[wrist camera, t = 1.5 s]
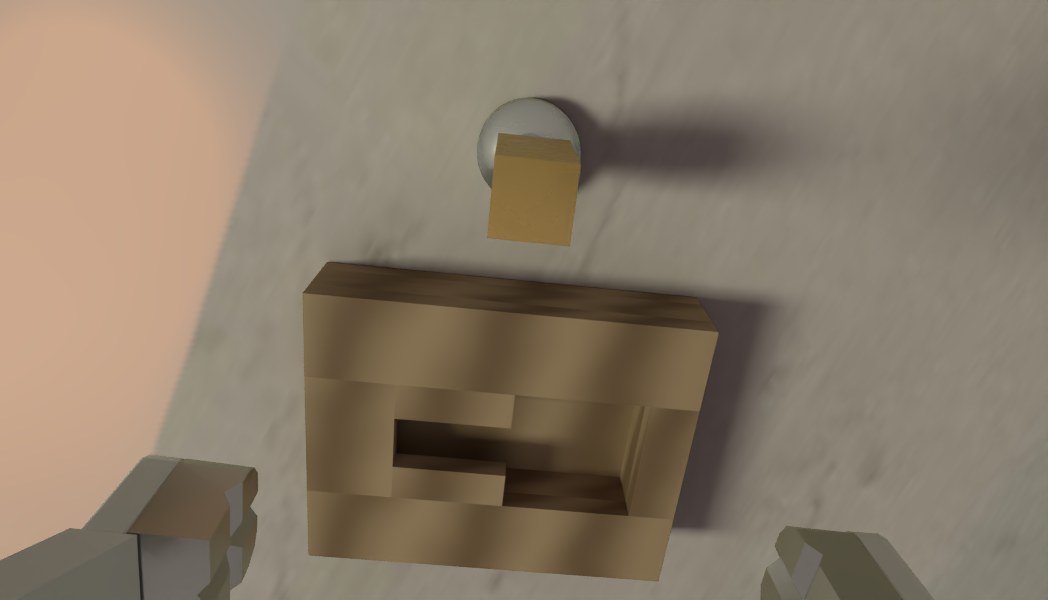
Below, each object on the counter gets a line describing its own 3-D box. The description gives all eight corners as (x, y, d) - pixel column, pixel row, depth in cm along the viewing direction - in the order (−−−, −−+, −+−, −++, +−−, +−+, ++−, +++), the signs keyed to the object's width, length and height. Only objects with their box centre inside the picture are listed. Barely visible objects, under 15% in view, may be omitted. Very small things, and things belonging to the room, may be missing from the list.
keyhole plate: (696, 297, 36) (718, 332, 32) (644, 527, 42) (658, 581, 38) (327, 262, 35) (302, 293, 31) (329, 503, 41) (308, 555, 37)
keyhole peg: (585, 103, 32) (614, 137, 23) (571, 203, 34) (592, 274, 25) (482, 92, 32) (467, 122, 22) (474, 193, 34) (457, 261, 24)
